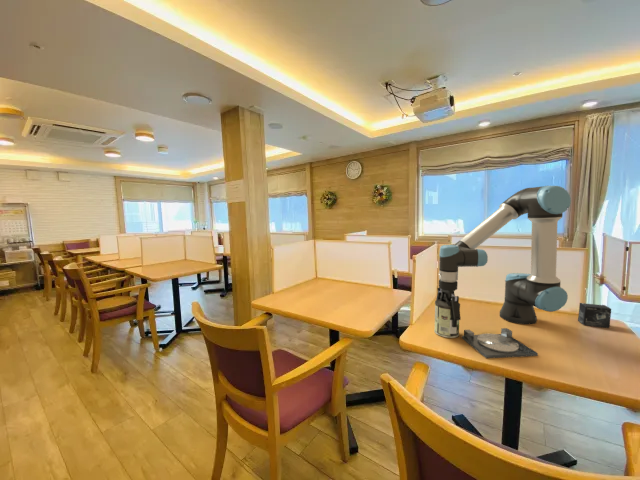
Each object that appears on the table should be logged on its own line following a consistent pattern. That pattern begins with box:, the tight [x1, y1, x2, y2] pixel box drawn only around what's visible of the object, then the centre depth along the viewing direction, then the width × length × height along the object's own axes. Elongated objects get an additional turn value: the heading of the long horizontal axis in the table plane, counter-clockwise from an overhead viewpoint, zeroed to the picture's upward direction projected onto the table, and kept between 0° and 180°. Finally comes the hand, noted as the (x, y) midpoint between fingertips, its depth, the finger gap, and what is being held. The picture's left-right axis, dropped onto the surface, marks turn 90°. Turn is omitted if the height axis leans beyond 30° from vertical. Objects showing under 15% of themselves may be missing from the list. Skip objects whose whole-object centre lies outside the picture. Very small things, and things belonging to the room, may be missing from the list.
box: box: [577, 302, 612, 329], centre depth 127 cm, size 9×6×10 cm, turn 68°
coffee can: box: [434, 299, 461, 339], centre depth 121 cm, size 10×10×14 cm
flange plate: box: [461, 327, 539, 359], centre depth 109 cm, size 20×16×4 cm
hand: (446, 328), depth 122 cm, fingers closed on coffee can, 10 cm apart
